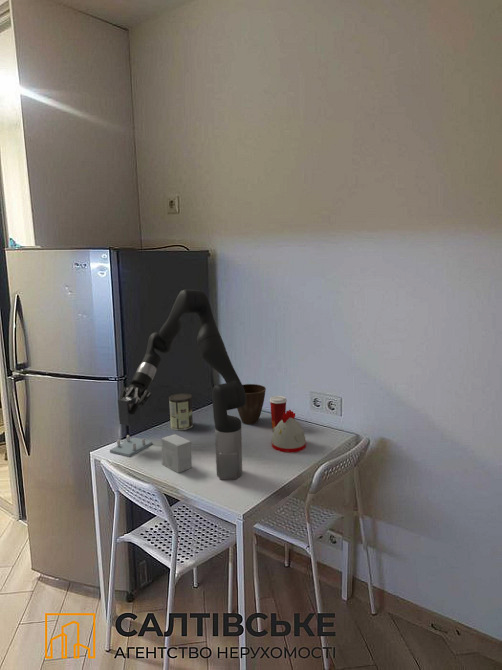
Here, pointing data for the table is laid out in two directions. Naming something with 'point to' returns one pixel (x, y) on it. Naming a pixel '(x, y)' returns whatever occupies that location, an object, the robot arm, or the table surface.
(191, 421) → the coffee can
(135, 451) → the grey peg board
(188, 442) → the skincare box
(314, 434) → the table surface
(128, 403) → the block
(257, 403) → the plant pot
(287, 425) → the cream and red dome
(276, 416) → the paper cup
